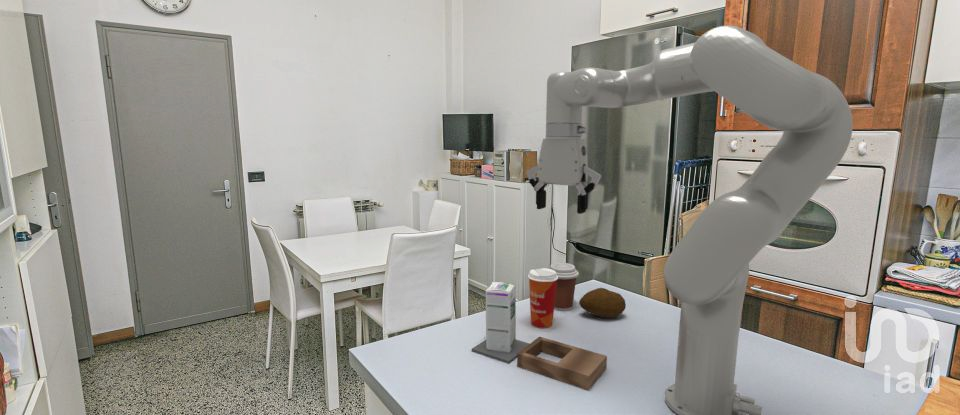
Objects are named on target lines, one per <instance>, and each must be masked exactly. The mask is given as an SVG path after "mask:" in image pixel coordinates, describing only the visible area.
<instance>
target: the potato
mask: <svg viewBox="0 0 960 415" xmlns="http://www.w3.org/2000/svg"><path fill="white" fill-rule="evenodd" d="M578 304H579V306H580V308H581V309H583V310H584V311H585V312H587V313H588V314H592V315H595V316H598V317H600V318H604V319H605V318H606V319H607V318H608V319H610V318H611V319H613V318H615V317H618V316H620V315H621V314H622V313H624V311H625V310H626V307H627V306H626V299H625V298H624V297H623V296H622V295H621V294H620V293H619V292H615V291H612V290H609V289H607V288H603V287H598V288H595V289H592V290H590V291H587V292H586V293H585V294H584V295H583V296H581V298H580V299H579V301H578Z"/></svg>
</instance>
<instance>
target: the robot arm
mask: <svg viewBox="0 0 960 415" xmlns="http://www.w3.org/2000/svg"><path fill="white" fill-rule="evenodd" d="M710 92H715V93H716V94H718V95H719V96H720V97H722V98H724V99H725V100H726V101H728V102H730V104H732V105H734V106H735V107H736V108H738V109H739V110H740V111H742V112H743V113H745V115H747V116H749V117H750V118H752V119H753V120H755V122H758V123H759V124H761V125H763V126H764V127H767V128H769V129H772V130H776V131H783V132H782V136H781V137H780V138H779V141H778V142H777V143H776V144H775V146H774V147H773V148H772V149H771V150H770V151H768V153H767V154H766V155H765V157H764V158H763V159H762V160H761V162H760V164H758V166H757V168H756V169H755V170H754V171H753V172H752V173H751V174H750V176H749V177H748V178H747V180H746V181H745V182H744V183H743V184H742V185H741V186H740V187H739V188H737V189H736V190H733V191H732V190H731V191H729V192H726V193H723V194H722V195H720V196H718V197H716V198H715V199H713V201H711V202H710V203H709V204H708V205H707V206H706V207H705V208H704V209H703V211H702V212H701V213H700V214H699V216H698V217H697V218H696V220H695V221H694V222H693V224H692V225H691V226H690V227H689V229H688V230H687V232H686V233H685V234H684V235H683V237H682V238H681V239H680V240H679V241H678V243H677V244H676V246H675V247H674V248H673V250H672V251H671V252H670V254H669V256H668V257H667V259H666V261H665V264H664V268H663V279H664V283H665V285H666V286H665V287H666V289H667V290H668V292H669V293H670V294H671V295H672V296H673V297H674V298H675V299H677V301H678V300H679V301H680V302H681V305H680V306H681V307H680V315H679V316H680V317H679V324H678V338H677V339H678V340H677V348H676V349H677V351H676V352H677V353H676V365H675V378H674V383H673V384H671V385H668V387H667V388H666V389H665V392H664V401H665V403H666V405H667V406H668V407H669V408H670V410H672V412H674V413H675V414H677V415H742V413H743V414H747V415H762V408H763V407H762V406H761V405H758V404H756V403H755V402H756V401H755V400H756V399H755V398H752V397H748V396H744V395H742V394H741V393H738V392H737V390H738V385H737V384H735V374H736V367H737V366H736V365H737V354H738V345H739V335H740V330H741V328H740V327H741V321H742V312H743V306H744V305H743V304H744V300H745V295H746V291H747V286H748V281H749V275H750V262H752V260H754V258H755V257H756V256H757V255H758V254H759V253H760V252H761V250H762V249H764V248H765V247H766V246H768V245H770V244H771V243H773V242H775V240H777V239H779V237H780V236H781V235H782V234H783V232H784V230H785V229H786V228H787V226H788V225H789V224H790V223H791V221H792V220H793V219H794V218H795V217H796V216H797V215H798V213H800V211H801V210H802V209H803V208H804V206H805V205H806V204H807V203H808V202H809V200H811V199H812V197H813V196H814V195H815V193H816V192H817V191H818V190H819V188H820V187H821V186H822V185H823V183H824V182H825V181H826V180H827V179H828V178H829V177H830V175H831V174H832V173H833V172H834V170H835V169H836V168H837V167H838V166H839V164H840V162H841V161H842V159H843V157H844V156H845V154H846V152H847V149H848V148H849V145H850V142H851V140H852V136H853V135H852V134H853V128H854V127H853V125H854V122H853V114H852V110H851V108H850V105H849V103H848V101H847V99H846V97H845V96H844V94H843V92H842V91H841V90H840V89H839V87H838V86H837V85H836V84H835V83H834V82H833V81H832V80H830V79H829V78H828V77H825V76H823V75H821V74H819V73H816V72H813V71H811V70H808V69H806V68H804V67H803V66H801V65H800V64H797V63H796V62H794V61H792V60H791V59H789V58H787V57H786V56H784V55H783V54H780V53H779V52H777V51H776V50H774V49H772V48H771V47H769V46H768V45H766V44H765V41H764V40H763V39H762V38H761V37H759V36H758V35H757V34H755V33H753V32H751V31H749V30H746V29H745V28H742V27H740V26H738V25H737V26H736V25H729V24H727V25H720V26H717V27H713V28H711V29H709V30H707V31H706V32H705V33H703V34H702V35H700V37H698V38H697V40H696V41H695V42H692V43H687V44H683V45H678V46H674V47H670V48H665V49H663V50H660V51H659V52H658V53H657V54H656V55H655V57H654V59H653V61H652V62H649V63H647V64H644V65H641V66H637V67H632V68H628V69H622V70H613V69H606V68H605V69H604V68H597V67H592V66H591V67H583V68H579V69H576V70H573V71H559V72H553V73H550V74H549V76H548V77H547V80H546V104H545V105H546V108H545V138H543V139H542V142H541V146H540V150H539V157H538V158H539V159H538V164H537V165H535V166H533V167H531V168H529V169H527V170H526V172H525V174H526V177H527V180H529V184H530V185H531V187H532V188H533V191H534V192H535V205H536V209H537V210H541V209H542V210H543V209H544V208H546V207H547V191H546V189H545V188H546V187H547V186H548V185H558V186H572V187H573V186H574V187H575V188H576V189H577V191H578V192H579V194H578V195H577V204H576V206H577V207H576V209H577V210H576V212H577V214H580V215H581V214H584V213H586V212H587V210H588V206H589V205H588V204H589V194H591V192H592V191H593V190H594V189H595V188H597V186H598V184H599V182H600V180H601V178H602V175H601V173H599V172H597V171H595V169H594V170H593V169H592V168H590V166H589V167H588V164H589V163H588V153H587V152H588V151H587V150H588V149H587V145H586V139H585V138H582V137H583V135H584V134H587V133H588V126H584V125H583V124H582V123H583V122H582V121H583V120H582V117H583V116H582V115H583V107H588V108H589V107H590V108H606V109H616V108H622V107H629V106H636V105H642V104H643V105H644V104H648V103H653V102H657V101H664V100H667V99H673V98H679V97H685V96H691V95H697V94H704V93H710ZM535 174H538V175H537V176H538V177H537V178H538V179H537V178H536V175H535ZM589 177H590V178H591V180H590V182H589V183H588V184H587V182H588V178H589Z"/></svg>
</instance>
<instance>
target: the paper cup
mask: <svg viewBox="0 0 960 415" xmlns="http://www.w3.org/2000/svg"><path fill="white" fill-rule="evenodd" d="M527 278H528V282H529V283H528V285H529V310H530V312H529V313H530V324H531V326H533V327H535V328H540V329H548V328H550V327H552V326H553V322H554V321H553V320H554V314H555V309H554V304H555V293H556V282H557V279H558V276H557V273H556V271H554V270H551V269H549V268H546V267H545V268H544V267H543V268H542V267H541V268H535V269H533V268H532V269H530V270H529V273H528V275H527Z"/></svg>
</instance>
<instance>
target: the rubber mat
mask: <svg viewBox="0 0 960 415" xmlns="http://www.w3.org/2000/svg"><path fill="white" fill-rule="evenodd" d="M530 343H531V342H530ZM530 343H529V342H526V341H522V340H519V339H516V342H515V344H514V346H513V348H512V350H511V352H510V353H507V352H499V351H492V350H487V349H486V339H485V340H483V341H481V342H480V343H478V344H476V345H475V346H474V347H472V348H471V352H473V353H476V354H477V355H478V354H479V355H481V356H485V357H488V358H491V359H493V360H497V361H499V362H503V363H506V364H511V363H512V362H513V361H515V360H517V353H518V352H520V351H521V350H522V349H524V348H525V347H526V346H528V345H529V344H530ZM514 359H515V360H514Z"/></svg>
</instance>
